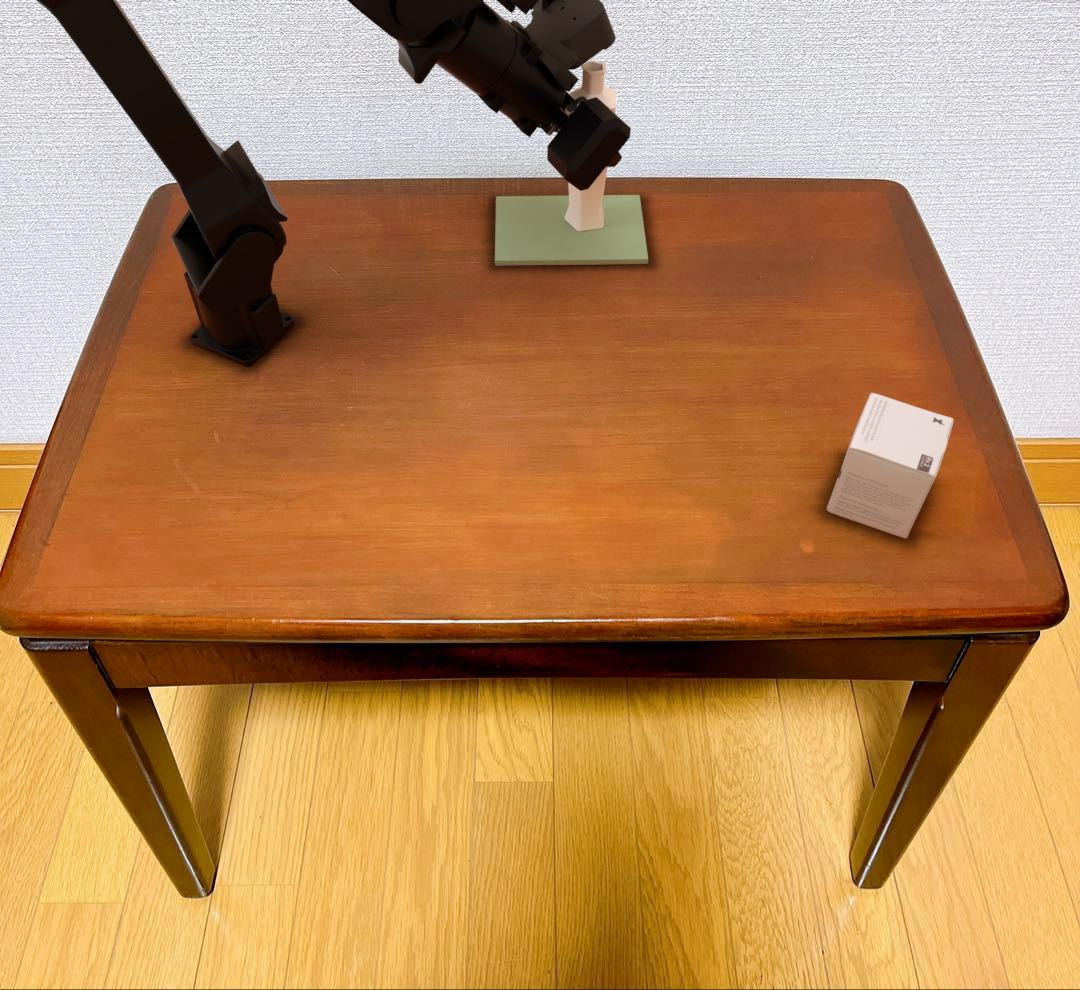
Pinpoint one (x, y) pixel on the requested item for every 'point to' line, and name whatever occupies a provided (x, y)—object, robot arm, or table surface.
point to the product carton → (890, 465)
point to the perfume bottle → (588, 203)
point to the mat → (567, 232)
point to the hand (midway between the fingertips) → (604, 147)
